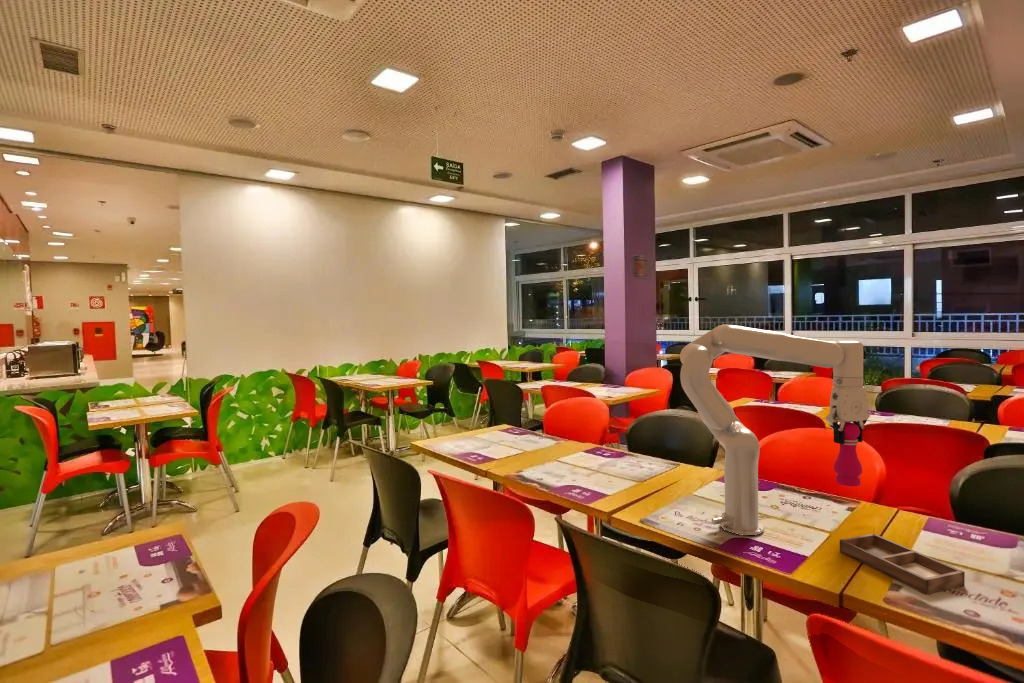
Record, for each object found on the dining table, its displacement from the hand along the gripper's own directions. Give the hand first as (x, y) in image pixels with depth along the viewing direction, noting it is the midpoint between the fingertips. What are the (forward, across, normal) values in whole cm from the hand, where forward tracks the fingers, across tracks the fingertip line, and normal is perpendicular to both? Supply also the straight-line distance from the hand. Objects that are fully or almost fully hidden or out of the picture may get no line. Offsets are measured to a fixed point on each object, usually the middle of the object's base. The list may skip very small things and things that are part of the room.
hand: (847, 441), depth 156 cm
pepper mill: (+13, 0, 0) cm, 13 cm away
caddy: (+27, -8, -22) cm, 36 cm away
